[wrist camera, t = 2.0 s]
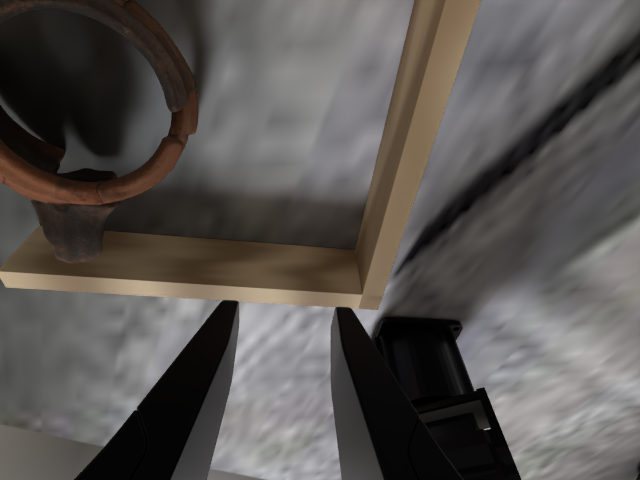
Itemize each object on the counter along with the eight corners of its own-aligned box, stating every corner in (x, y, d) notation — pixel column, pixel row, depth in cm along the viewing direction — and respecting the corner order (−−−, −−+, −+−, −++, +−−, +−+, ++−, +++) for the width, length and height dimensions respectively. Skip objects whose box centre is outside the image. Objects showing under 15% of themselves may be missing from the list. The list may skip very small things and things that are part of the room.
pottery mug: (-74, -38, 15) (-188, -106, 9) (173, 5, 20) (218, -18, 13) (0, 234, 20) (-37, 321, 13) (184, 217, 24) (222, 275, 18)
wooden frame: (460, -62, 15) (502, -63, 11) (369, 264, 25) (378, 309, 22) (-127, -160, 12) (-272, -194, 9) (46, 240, 23) (5, 287, 20)
